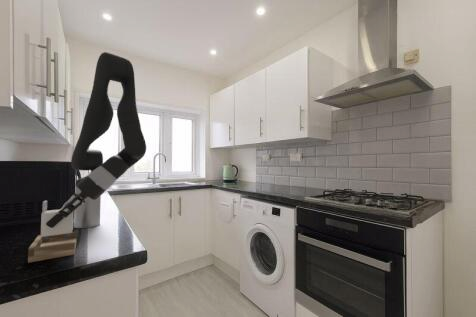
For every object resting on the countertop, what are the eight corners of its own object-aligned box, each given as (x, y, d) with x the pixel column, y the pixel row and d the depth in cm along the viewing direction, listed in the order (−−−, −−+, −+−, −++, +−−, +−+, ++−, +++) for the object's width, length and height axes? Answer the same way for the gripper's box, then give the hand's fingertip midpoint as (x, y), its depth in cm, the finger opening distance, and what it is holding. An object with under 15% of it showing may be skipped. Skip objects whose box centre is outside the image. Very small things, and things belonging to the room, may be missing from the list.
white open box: (43, 238, 68) (44, 200, 69) (72, 233, 72) (73, 198, 73) (40, 242, 64) (41, 202, 64) (71, 238, 68) (72, 200, 68)
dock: (37, 247, 71) (38, 235, 71) (76, 241, 76) (76, 230, 76) (27, 262, 59) (28, 248, 59) (74, 254, 65) (74, 241, 65)
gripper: (88, 174, 79) (43, 212, 72) (88, 175, 67) (33, 221, 60) (105, 188, 82) (63, 226, 74) (108, 191, 70) (58, 237, 62)
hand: (50, 223), depth 67 cm, fingers closed on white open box, 5 cm apart
